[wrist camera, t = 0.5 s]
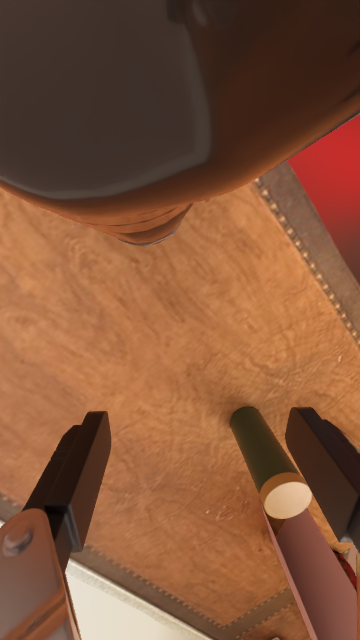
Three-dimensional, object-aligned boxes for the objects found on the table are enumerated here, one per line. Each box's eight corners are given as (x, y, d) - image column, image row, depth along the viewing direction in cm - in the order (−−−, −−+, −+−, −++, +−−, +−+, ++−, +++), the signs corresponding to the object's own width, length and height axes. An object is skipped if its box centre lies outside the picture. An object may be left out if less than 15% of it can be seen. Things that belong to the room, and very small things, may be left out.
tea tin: (227, 409, 31) (262, 488, 21) (261, 403, 32) (312, 477, 21) (230, 437, 33) (265, 523, 22) (262, 430, 33) (311, 513, 23)
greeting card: (277, 543, 41) (343, 702, 26) (239, 539, 39) (287, 704, 25) (304, 496, 38) (394, 644, 23) (264, 490, 36) (333, 643, 22)
